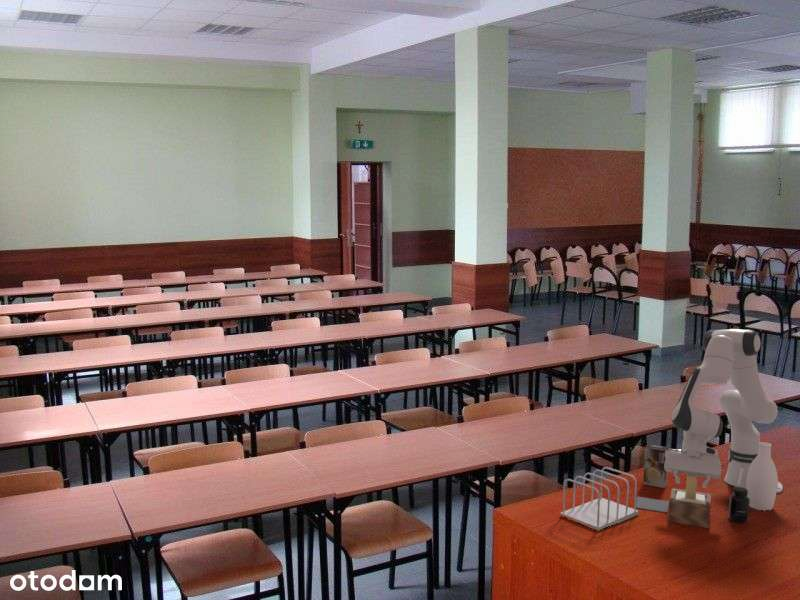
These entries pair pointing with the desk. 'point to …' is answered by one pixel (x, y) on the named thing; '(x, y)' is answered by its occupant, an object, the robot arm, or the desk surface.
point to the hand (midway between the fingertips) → (691, 484)
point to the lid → (691, 492)
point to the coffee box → (655, 466)
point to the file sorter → (600, 504)
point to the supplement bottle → (739, 505)
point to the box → (689, 510)
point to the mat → (652, 504)
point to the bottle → (762, 479)
